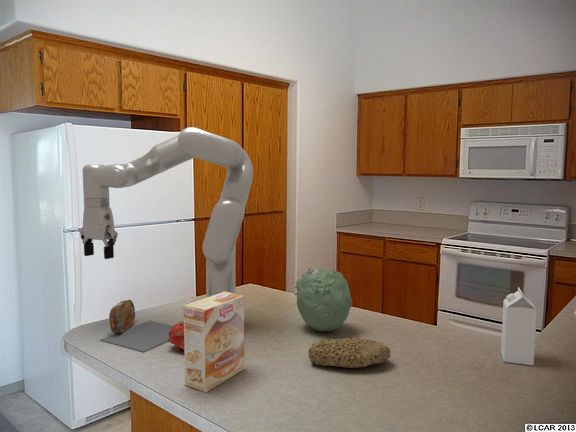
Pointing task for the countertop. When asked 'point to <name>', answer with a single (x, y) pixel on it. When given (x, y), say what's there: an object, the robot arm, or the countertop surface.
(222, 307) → the coffeecake box
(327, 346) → the sponge
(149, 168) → the robot arm
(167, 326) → the mat
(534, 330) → the milk carton
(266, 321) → the countertop surface
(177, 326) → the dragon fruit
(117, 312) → the tin
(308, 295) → the cabbage
